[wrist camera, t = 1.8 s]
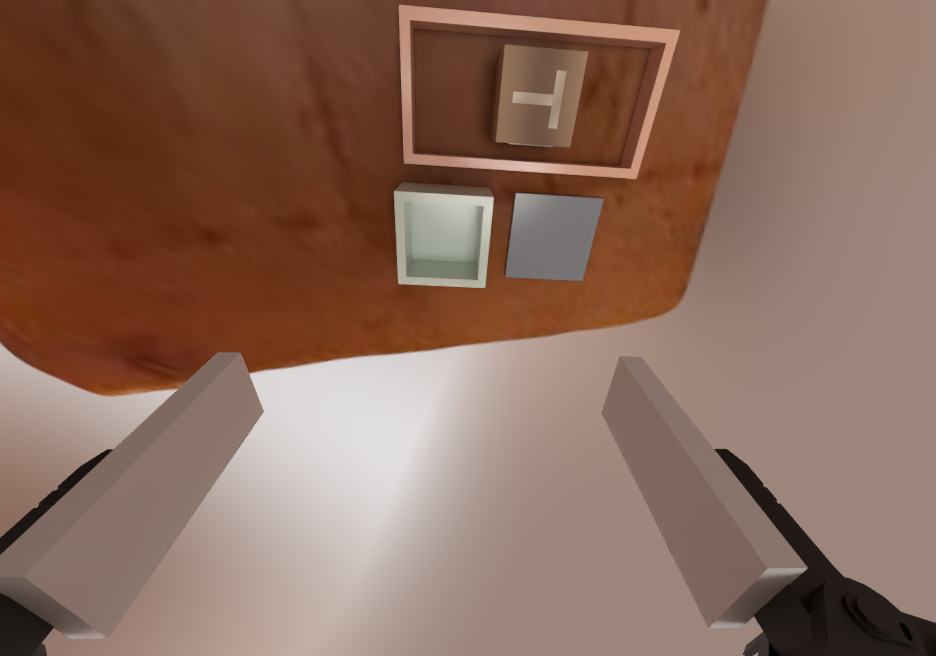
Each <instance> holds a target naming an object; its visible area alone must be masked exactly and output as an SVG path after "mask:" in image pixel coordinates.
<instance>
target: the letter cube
mask: <svg viewBox="0 0 936 656" xmlns="http://www.w3.org/2000/svg"><path fill="white" fill-rule="evenodd" d="M587 57H588V52H586V51H575V50H563V49H552V48H540V47H529V46H517V45H506V44H505V45H504V47H503V49H502V50H501V52H500V54H499V56H498V57H497V62H496V74H495V86H494V97H493V109H492V121H491V133H490V140H492V141H495V142H503V143H508V144H517V145H531V146H545V147H552V146H558V147H570V145H571V140H572V135H573V129H574V124H575V119H576V114H577V109H578V104H579V99H580V93H581V88H582V83H583V78H584V73H585V68H586V63H587Z"/></svg>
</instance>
